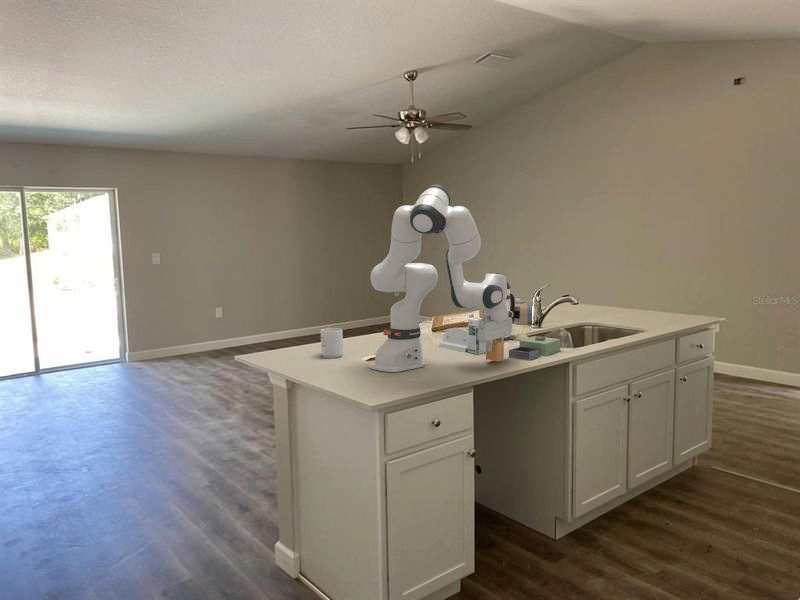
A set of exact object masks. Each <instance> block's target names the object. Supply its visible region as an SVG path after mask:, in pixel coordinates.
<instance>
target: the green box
mask: <svg viewBox="0 0 800 600" xmlns="http://www.w3.org/2000/svg"><path fill="white" fill-rule="evenodd" d="M520 346H521V347H528V348H535V349H541V352H540V357H541V356H542V357H547V356H550V355H553V354H555V353H558V352H560V351H561V338H553V337H547V336H536V335H533V336H529V337H526V338H524V339H521V340H519V347H520Z"/></svg>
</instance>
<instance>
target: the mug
mask: <svg viewBox="0 0 800 600" xmlns="http://www.w3.org/2000/svg"><path fill="white" fill-rule="evenodd" d="M343 339H344V338H343V329H342V328H338V327H327V328H322V329H320V349H321V350H320V353H321V356H322V357H323V358H326V359H337V358H341V356H343V354H344V351H343V350H344V345H343V344H344V343H343Z"/></svg>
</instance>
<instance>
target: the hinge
mask: <svg viewBox="0 0 800 600" xmlns="http://www.w3.org/2000/svg"><path fill="white" fill-rule="evenodd" d="M438 345H439V346H438V347H439V348H443V349H446V350H447V349H448V350H452V351H457V352H461V353H467V351H468V329H465V328H462V327H461V328H460V327H451V328H447V329H446V330H445V333H444V335H443V337H442V341H441V342H440V343H439V344H438Z"/></svg>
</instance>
